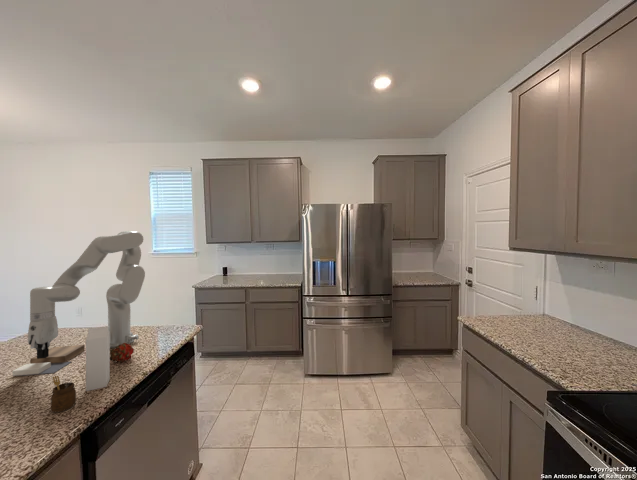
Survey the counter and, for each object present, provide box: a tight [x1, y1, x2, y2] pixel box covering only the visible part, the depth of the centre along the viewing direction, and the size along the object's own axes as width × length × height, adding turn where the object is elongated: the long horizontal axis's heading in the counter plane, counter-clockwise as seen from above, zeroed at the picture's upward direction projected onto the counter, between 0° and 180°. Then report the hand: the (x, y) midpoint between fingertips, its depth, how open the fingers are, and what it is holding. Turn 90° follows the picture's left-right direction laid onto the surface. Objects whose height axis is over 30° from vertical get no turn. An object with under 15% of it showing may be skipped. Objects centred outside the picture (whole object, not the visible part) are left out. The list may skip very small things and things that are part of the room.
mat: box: [21, 361, 72, 377], centre depth 112 cm, size 11×10×1 cm
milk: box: [85, 325, 111, 392], centre depth 100 cm, size 6×6×22 cm
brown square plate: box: [29, 344, 86, 364], centre depth 123 cm, size 13×13×3 cm
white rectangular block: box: [11, 362, 51, 377], centre depth 110 cm, size 9×6×2 cm, turn 101°
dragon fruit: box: [110, 343, 135, 364], centre depth 120 cm, size 8×8×12 cm
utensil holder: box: [50, 370, 77, 414], centre depth 86 cm, size 6×6×12 cm
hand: (42, 357), depth 115 cm, fingers closed
